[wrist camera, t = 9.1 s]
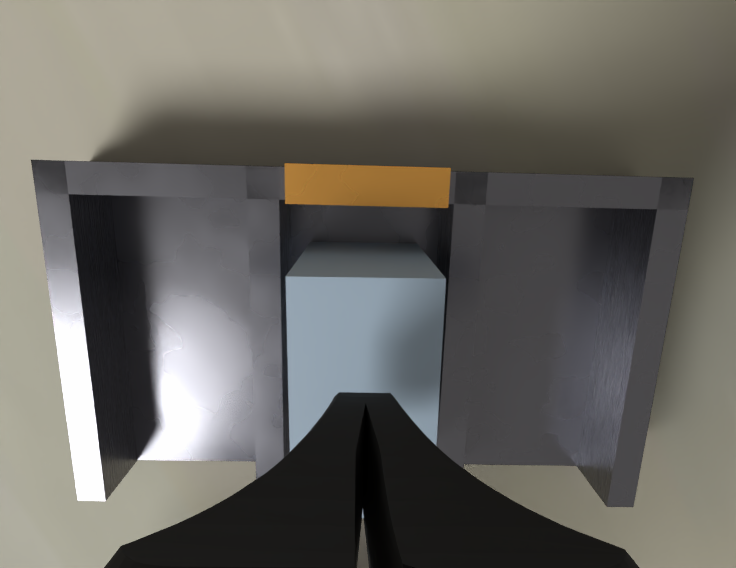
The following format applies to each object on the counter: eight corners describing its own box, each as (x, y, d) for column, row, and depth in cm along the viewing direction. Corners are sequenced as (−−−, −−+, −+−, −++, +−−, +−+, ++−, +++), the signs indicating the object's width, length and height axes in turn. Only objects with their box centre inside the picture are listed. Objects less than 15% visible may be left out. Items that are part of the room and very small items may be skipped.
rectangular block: (410, 412, 19) (431, 517, 13) (312, 411, 19) (291, 517, 13) (417, 243, 17) (446, 278, 12) (310, 241, 17) (285, 276, 12)
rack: (594, 452, 21) (646, 514, 17) (119, 445, 20) (64, 508, 17) (637, 174, 18) (711, 174, 14) (87, 159, 18) (12, 155, 14)
